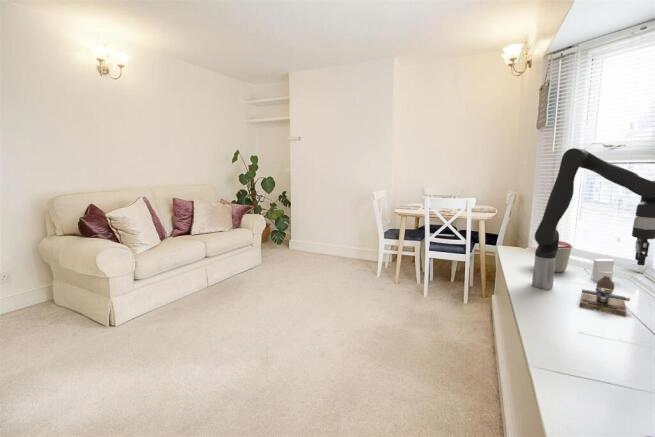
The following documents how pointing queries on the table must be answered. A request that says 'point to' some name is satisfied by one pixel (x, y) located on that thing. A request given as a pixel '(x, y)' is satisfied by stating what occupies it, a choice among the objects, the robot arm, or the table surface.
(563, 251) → the canister
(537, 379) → the table surface
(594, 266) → the base with upright slab
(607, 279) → the vase
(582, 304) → the stand
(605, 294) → the capstan
